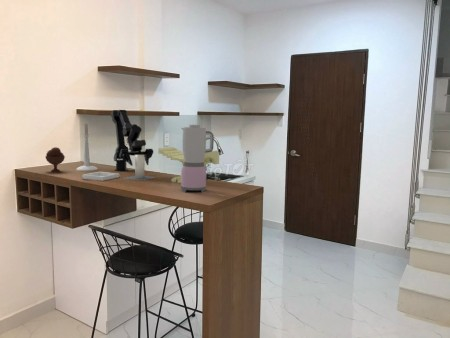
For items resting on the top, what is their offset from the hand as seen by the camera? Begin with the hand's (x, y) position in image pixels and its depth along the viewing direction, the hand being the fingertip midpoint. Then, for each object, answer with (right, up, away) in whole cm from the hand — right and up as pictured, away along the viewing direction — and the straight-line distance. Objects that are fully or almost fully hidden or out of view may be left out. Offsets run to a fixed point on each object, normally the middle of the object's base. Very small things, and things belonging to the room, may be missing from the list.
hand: (140, 165), depth 208 cm
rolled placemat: (-1, -7, +2) cm, 7 cm away
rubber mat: (-1, -8, +2) cm, 8 cm away
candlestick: (-41, -3, +29) cm, 50 cm away
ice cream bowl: (-56, -4, +18) cm, 59 cm away
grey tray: (-21, -8, -2) cm, 23 cm away
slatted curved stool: (+27, -9, -1) cm, 29 cm away
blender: (+34, -13, -27) cm, 45 cm away
